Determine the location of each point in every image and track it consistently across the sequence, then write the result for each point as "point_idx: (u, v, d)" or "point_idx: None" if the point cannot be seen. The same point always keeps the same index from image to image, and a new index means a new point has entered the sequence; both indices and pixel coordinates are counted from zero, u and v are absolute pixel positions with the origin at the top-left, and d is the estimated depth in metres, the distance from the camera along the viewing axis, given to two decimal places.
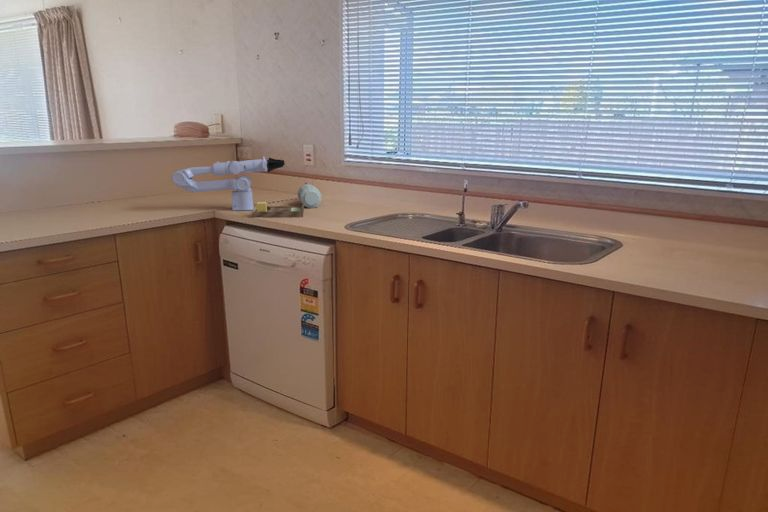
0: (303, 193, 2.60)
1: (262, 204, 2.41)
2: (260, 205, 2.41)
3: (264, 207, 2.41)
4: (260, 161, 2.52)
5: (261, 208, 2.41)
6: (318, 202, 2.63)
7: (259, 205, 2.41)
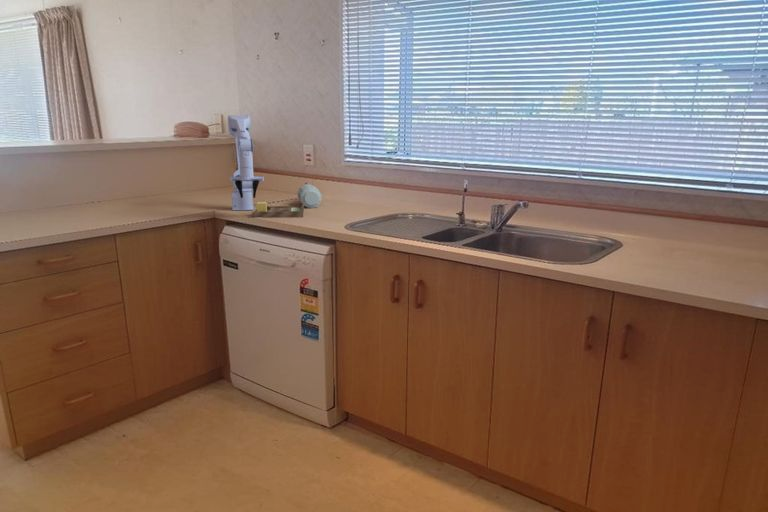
0: (303, 193, 2.60)
1: (262, 204, 2.41)
2: (260, 205, 2.41)
3: (264, 207, 2.41)
4: (241, 174, 2.36)
5: (261, 208, 2.41)
6: (318, 202, 2.63)
7: (259, 205, 2.41)
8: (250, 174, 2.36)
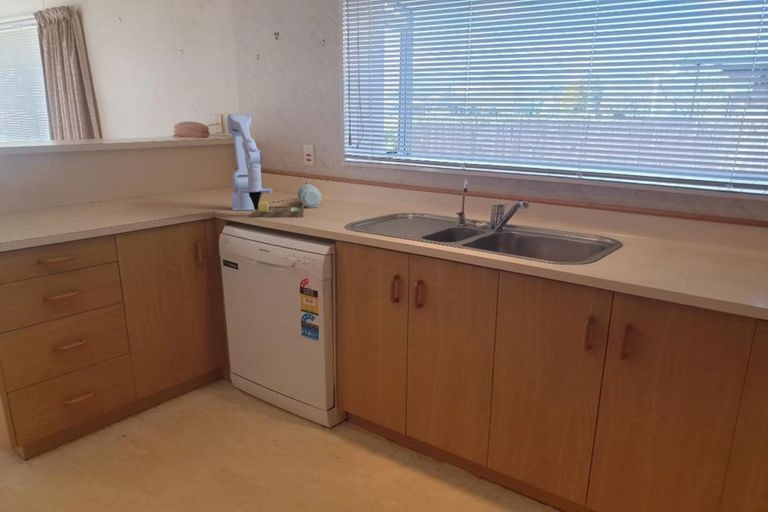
0: (303, 193, 2.60)
1: (264, 204, 2.41)
2: (262, 205, 2.41)
3: (266, 207, 2.41)
4: (249, 186, 2.38)
5: (263, 208, 2.41)
6: (317, 202, 2.63)
7: (261, 205, 2.41)
8: (258, 186, 2.38)
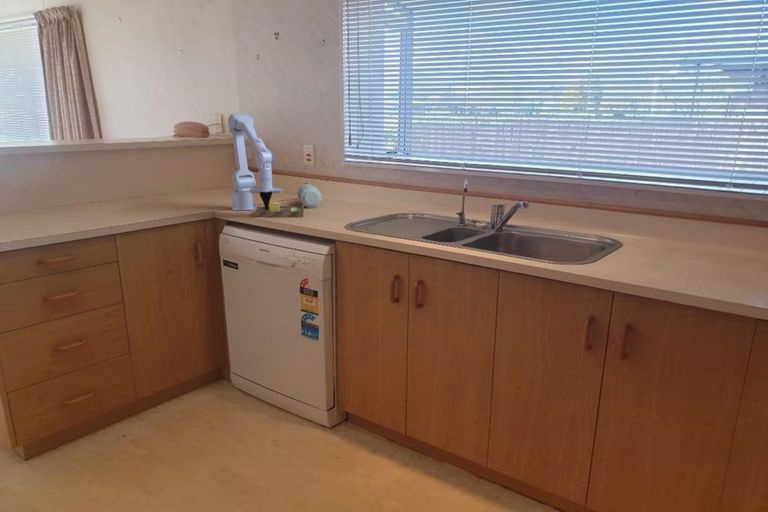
0: (303, 193, 2.60)
1: (275, 204, 2.41)
2: (273, 205, 2.41)
3: (277, 207, 2.42)
4: (260, 186, 2.38)
5: (274, 208, 2.42)
6: (318, 202, 2.63)
7: (272, 205, 2.41)
8: (269, 186, 2.39)
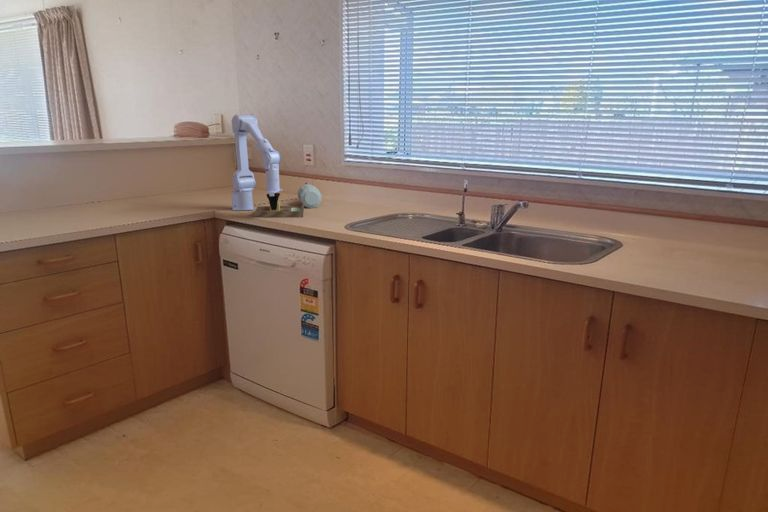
0: (303, 193, 2.60)
1: None
2: None
3: (277, 206, 2.43)
4: (277, 187, 2.37)
5: None
6: (318, 202, 2.63)
7: None
8: None
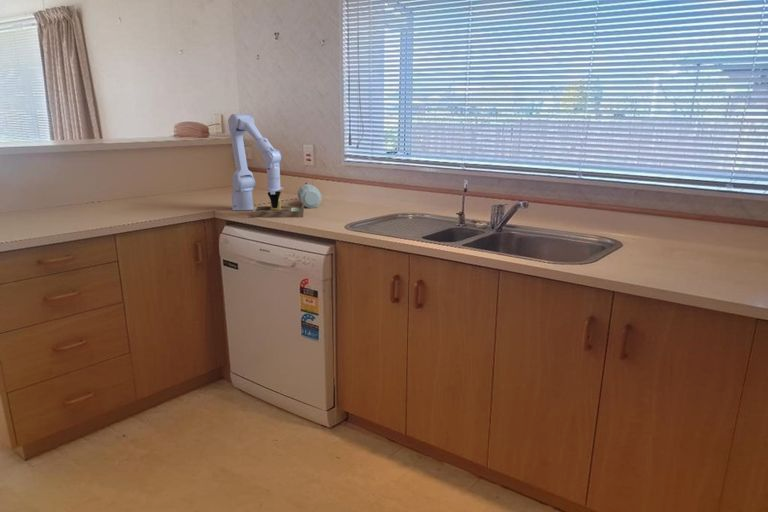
0: (303, 193, 2.60)
1: None
2: None
3: (278, 204, 2.47)
4: (278, 185, 2.42)
5: None
6: (318, 202, 2.63)
7: None
8: None
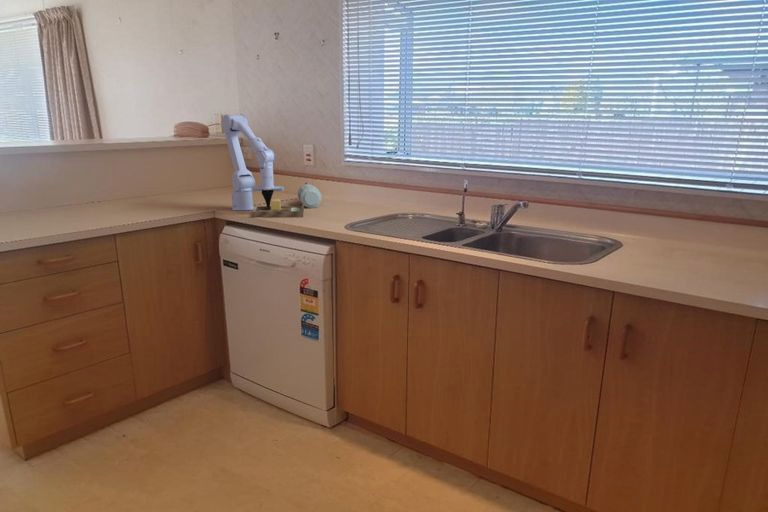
0: (303, 193, 2.60)
1: (276, 202, 2.47)
2: (274, 202, 2.47)
3: (278, 204, 2.47)
4: (262, 184, 2.44)
5: (275, 205, 2.47)
6: (318, 202, 2.63)
7: (273, 202, 2.47)
8: (270, 184, 2.44)
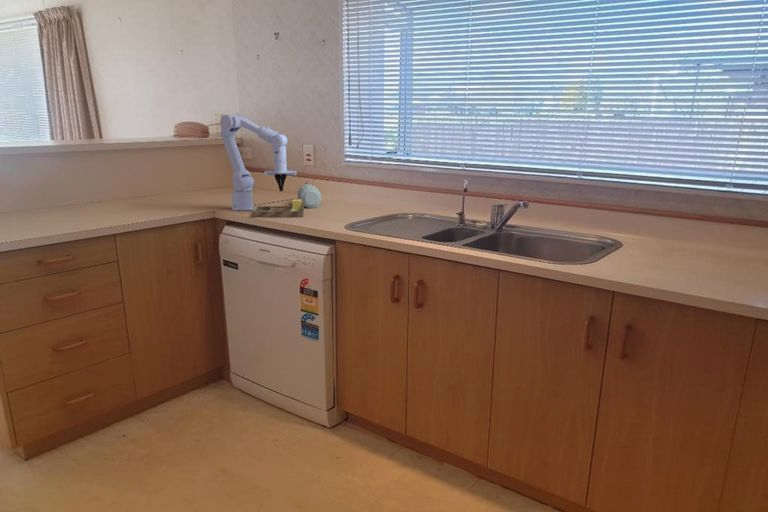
0: (303, 193, 2.60)
1: (298, 201, 2.48)
2: (296, 202, 2.48)
3: (299, 204, 2.48)
4: (275, 168, 2.46)
5: (297, 205, 2.48)
6: (318, 202, 2.63)
7: (295, 202, 2.48)
8: (283, 168, 2.46)
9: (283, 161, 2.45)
